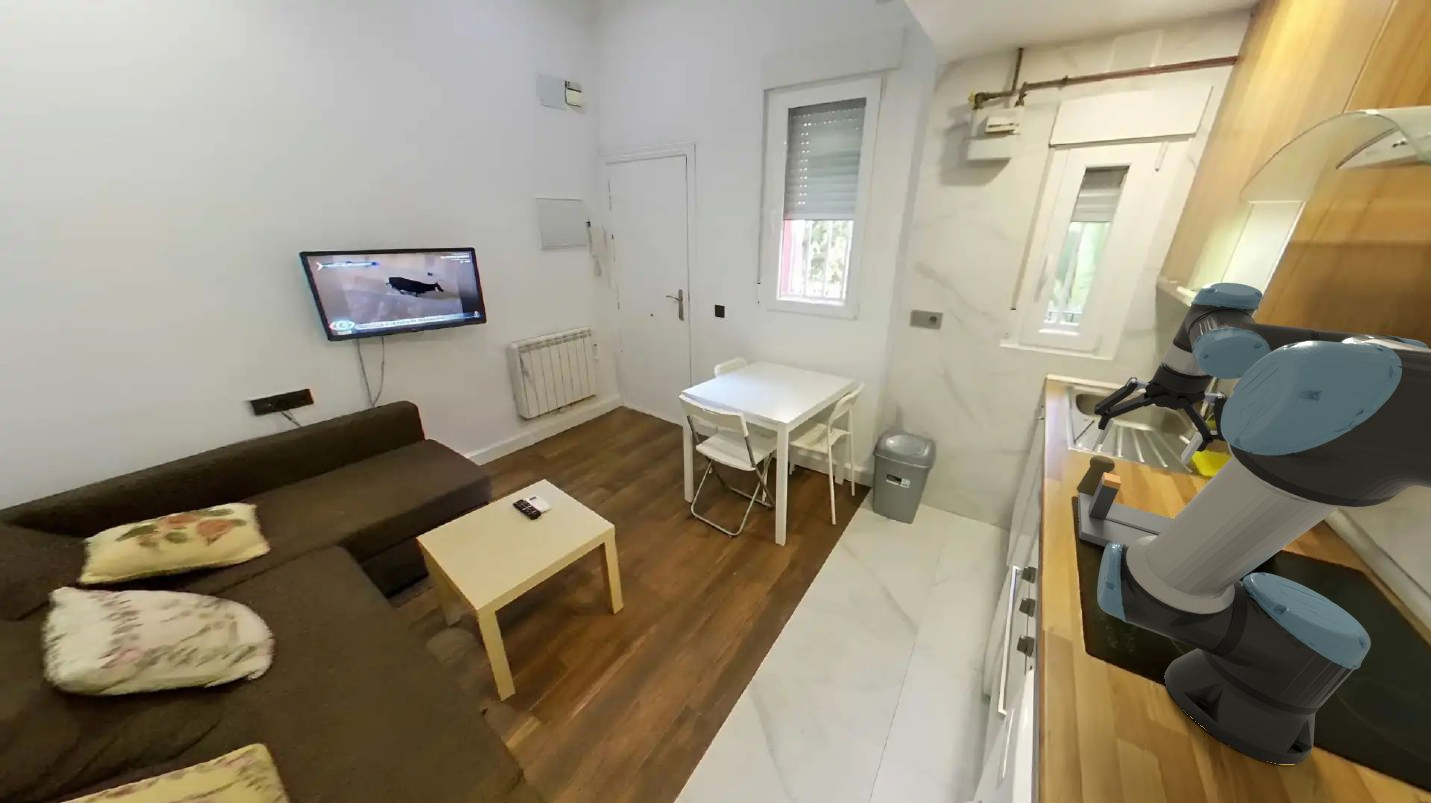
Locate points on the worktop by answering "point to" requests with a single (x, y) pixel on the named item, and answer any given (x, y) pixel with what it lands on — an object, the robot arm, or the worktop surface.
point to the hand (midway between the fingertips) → (1140, 450)
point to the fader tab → (1104, 495)
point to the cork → (1095, 474)
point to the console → (1118, 523)
